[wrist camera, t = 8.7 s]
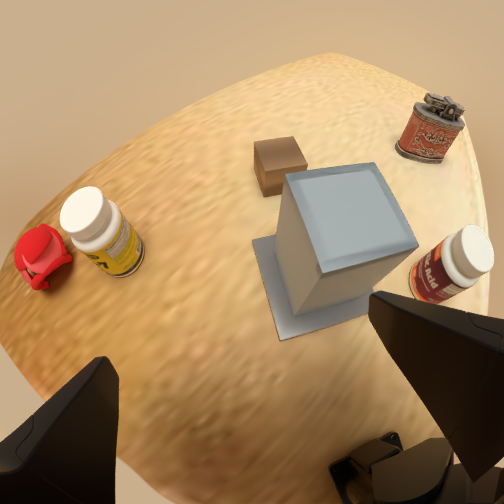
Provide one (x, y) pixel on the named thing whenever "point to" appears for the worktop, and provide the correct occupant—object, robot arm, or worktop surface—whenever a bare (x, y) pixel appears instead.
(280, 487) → the worktop surface
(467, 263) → the pill bottle
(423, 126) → the lighter
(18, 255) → the red plastic curved piece
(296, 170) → the block
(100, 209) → the supplement bottle
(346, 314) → the coaster
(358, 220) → the cover
